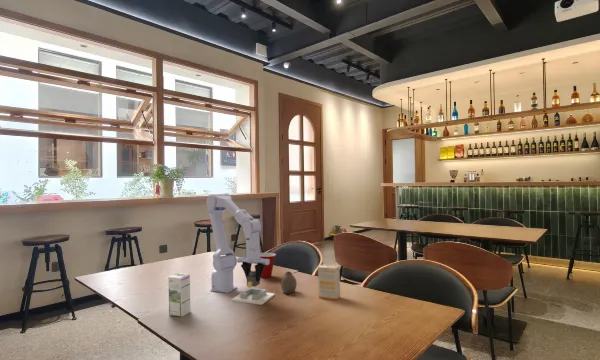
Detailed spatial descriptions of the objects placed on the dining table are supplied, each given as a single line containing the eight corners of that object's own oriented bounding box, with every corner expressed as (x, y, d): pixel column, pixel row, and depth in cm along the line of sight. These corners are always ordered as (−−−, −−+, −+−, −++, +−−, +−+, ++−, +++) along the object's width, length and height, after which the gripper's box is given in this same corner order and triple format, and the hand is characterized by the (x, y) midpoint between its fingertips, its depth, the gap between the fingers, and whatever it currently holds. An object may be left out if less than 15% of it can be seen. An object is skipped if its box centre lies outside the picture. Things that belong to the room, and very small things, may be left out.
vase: (294, 294, 145) (294, 274, 145) (279, 294, 146) (278, 274, 146) (298, 289, 152) (297, 270, 152) (283, 289, 153) (282, 269, 153)
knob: (251, 283, 144) (251, 269, 144) (259, 283, 143) (259, 270, 143) (244, 286, 139) (244, 273, 139) (253, 287, 138) (253, 274, 138)
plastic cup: (280, 275, 176) (280, 252, 176) (267, 280, 167) (267, 256, 167) (264, 272, 182) (264, 250, 182) (251, 277, 173) (250, 254, 173)
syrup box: (191, 311, 128) (190, 273, 128) (181, 317, 122) (180, 277, 122) (178, 310, 130) (178, 272, 130) (168, 315, 124) (167, 276, 124)
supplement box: (340, 296, 142) (340, 265, 142) (337, 300, 137) (336, 268, 137) (322, 294, 145) (321, 263, 145) (318, 297, 141) (317, 266, 141)
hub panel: (231, 300, 139) (231, 294, 139) (246, 292, 150) (246, 285, 150) (261, 304, 134) (261, 297, 134) (274, 295, 145) (274, 288, 145)
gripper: (232, 249, 141) (233, 281, 141) (263, 251, 136) (264, 284, 135) (241, 246, 147) (242, 277, 147) (271, 247, 142) (272, 280, 142)
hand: (253, 280), depth 142 cm, fingers closed on knob, 4 cm apart
